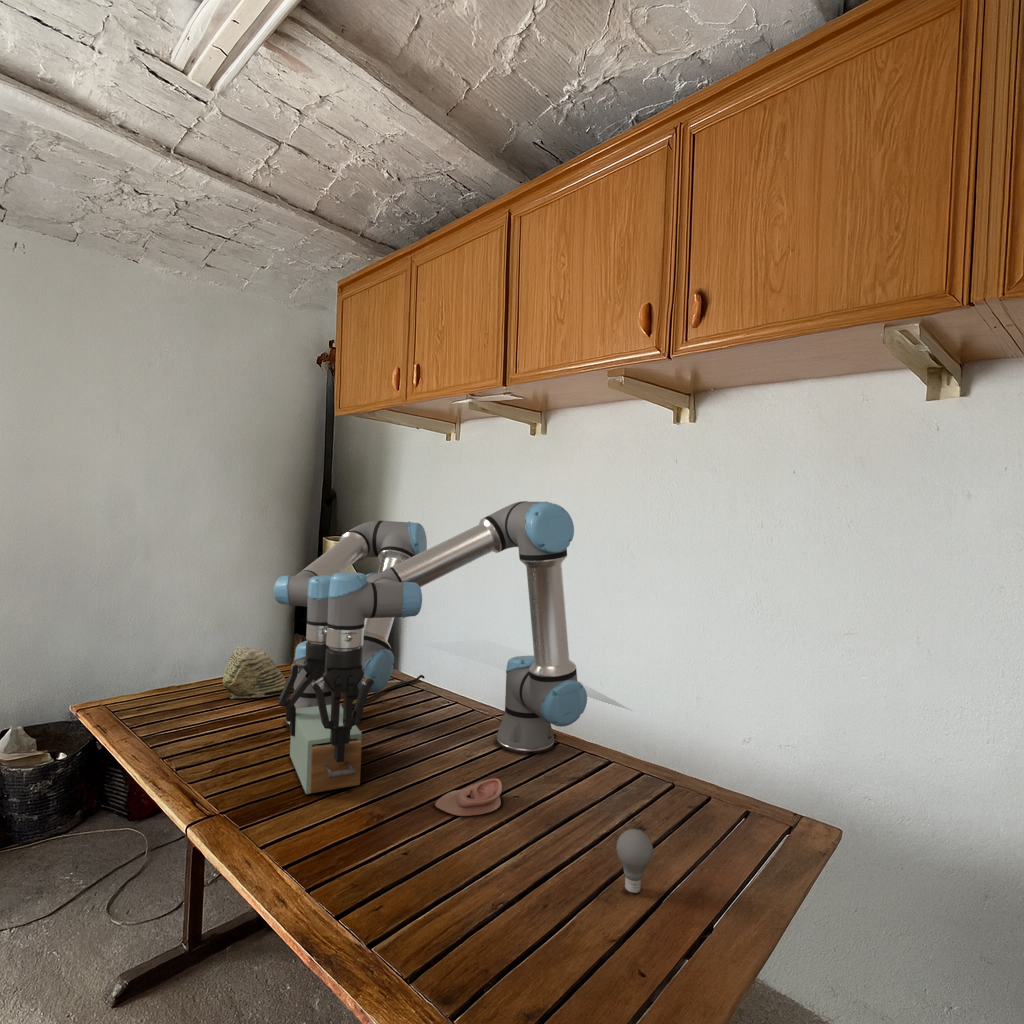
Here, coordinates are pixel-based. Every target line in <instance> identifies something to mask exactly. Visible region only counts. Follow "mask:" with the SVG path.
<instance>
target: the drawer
mask: <svg viewBox="0 0 1024 1024" xmlns="http://www.w3.org/2000/svg"><path fill="white" fill-rule="evenodd" d="M362 742H363V741H362ZM362 742H361V740H356V741H354V739H350V742H349V744H345V752H344V761H343V762H336V760H335V758H334V747H335V745H334V746H332V744H331V742H328V743H321V744H314V745H312V747H311V772H310V792H311V793H310V794H316V793H321V791H322V792H327V791H333V790H338V789H345V788H349V787H355V786H360V785H361V770H360V768H361V769H362V745H361V743H362ZM344 787H345V788H344Z"/></svg>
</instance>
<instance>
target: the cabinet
mask: <svg viewBox="0 0 1024 1024" xmlns="http://www.w3.org/2000/svg"><path fill="white" fill-rule="evenodd" d="M326 708H327V713H328V718H329V721H330V720H331V705H326ZM339 726H343V707H342V704H340V712H339ZM330 731H331V729H325V728H324V726H323V725H322V722H321V717H320V712H319V707H318V706H315V707H306V708H297V709H296V719H295V736H291V735H290V740H289V741H290V742H289V743H290V744H289V757H290V759H291V762H292V764H293V767H294V769H295V772H296V774H297V776H298V779H299V782H300V784H301V786H302V789H303V791H304V793H305V795H309V794H312V793H311V792H310V772H311V747H312V745H314V744H321V743H328V742H330ZM350 739H354V741H356V740H361V742H363V741H362V740H363V733H362V732H361V730H360V729H359V727H358V725H354V726H352V729H351V730H350ZM361 746H362V743H361ZM361 769H362V767H361V768H360V771H361ZM345 788H346V787H344V788H343V789H345ZM321 792H323V791H321ZM321 792H320V793H321Z"/></svg>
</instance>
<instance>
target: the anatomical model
mask: <svg viewBox="0 0 1024 1024" xmlns="http://www.w3.org/2000/svg"><path fill="white" fill-rule="evenodd" d="M502 791H503V784H502V780H500V779H499V778H491V779H490V778H489V779H485V780H483V781H480V782H477V783H474V784H471V785H470V786H467V787H465V788H463V789H457V790H452V791H449V792H447V793H446V794H443V795H442V796H441V797H440V798H438V799H436V801H435V802H434V807H436V808H437V809H439V810H441V811H443V812H445V813H447V814H451V815H453V816H458V817H469V816H479V815H484V814H487V813H491V812H494V811H496V810H497V809H499V808H500V807H501V803H502V801H501V800H502V799H501V797H500V796H501V794H502Z"/></svg>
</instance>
